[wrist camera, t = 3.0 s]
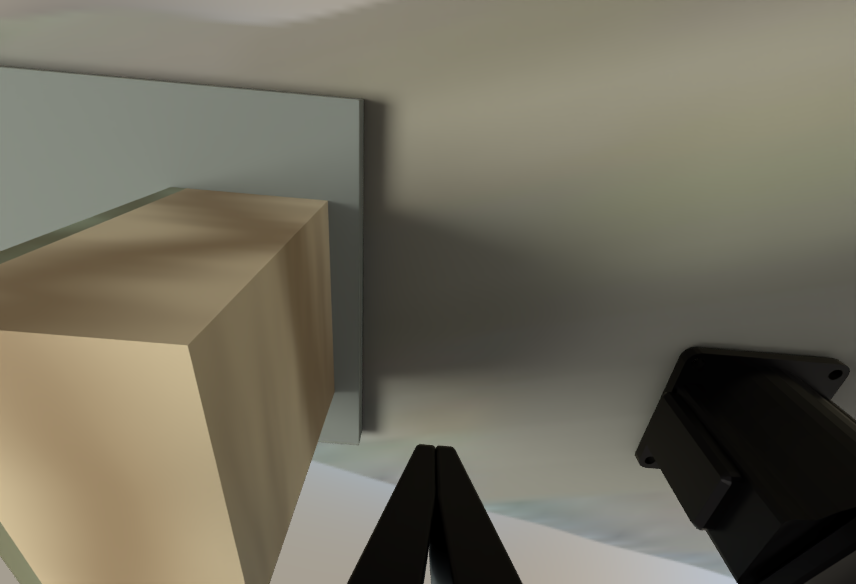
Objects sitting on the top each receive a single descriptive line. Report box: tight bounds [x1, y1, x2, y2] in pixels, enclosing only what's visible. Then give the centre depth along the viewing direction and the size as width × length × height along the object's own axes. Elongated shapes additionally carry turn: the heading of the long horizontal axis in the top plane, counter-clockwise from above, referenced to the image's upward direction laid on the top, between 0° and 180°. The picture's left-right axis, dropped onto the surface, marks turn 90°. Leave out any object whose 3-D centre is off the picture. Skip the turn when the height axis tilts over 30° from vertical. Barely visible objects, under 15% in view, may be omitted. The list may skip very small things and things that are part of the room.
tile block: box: [0, 187, 335, 584], centre depth 11 cm, size 5×8×8 cm, turn 175°
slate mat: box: [0, 66, 364, 445], centre depth 15 cm, size 16×14×1 cm
